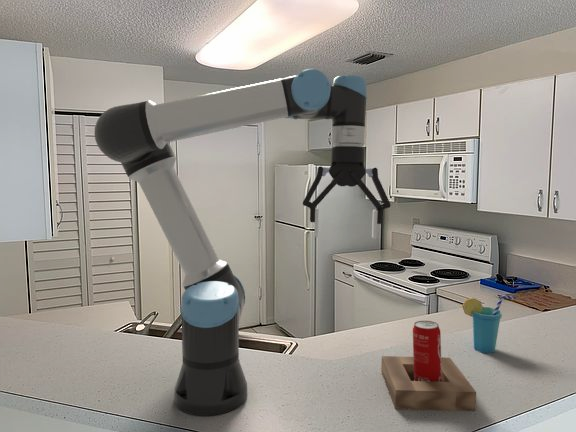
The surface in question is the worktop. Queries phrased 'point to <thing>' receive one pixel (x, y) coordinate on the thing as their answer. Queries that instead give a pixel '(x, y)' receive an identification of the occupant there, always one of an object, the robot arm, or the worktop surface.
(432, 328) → the beverage can
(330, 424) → the worktop surface
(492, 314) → the cup
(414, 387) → the socket
